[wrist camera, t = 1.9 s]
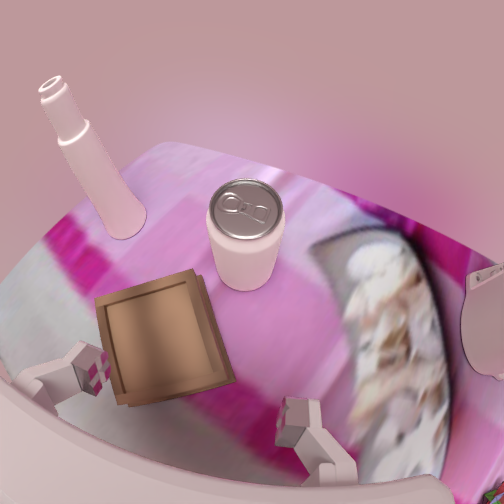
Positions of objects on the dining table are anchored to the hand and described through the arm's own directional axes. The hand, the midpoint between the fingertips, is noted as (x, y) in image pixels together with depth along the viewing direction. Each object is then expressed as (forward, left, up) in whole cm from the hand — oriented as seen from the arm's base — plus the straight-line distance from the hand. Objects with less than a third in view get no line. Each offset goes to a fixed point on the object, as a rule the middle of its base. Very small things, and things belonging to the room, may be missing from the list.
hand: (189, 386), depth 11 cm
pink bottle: (+7, -22, -18) cm, 29 cm away
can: (-6, -11, -18) cm, 22 cm away
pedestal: (+5, -5, -17) cm, 19 cm away
